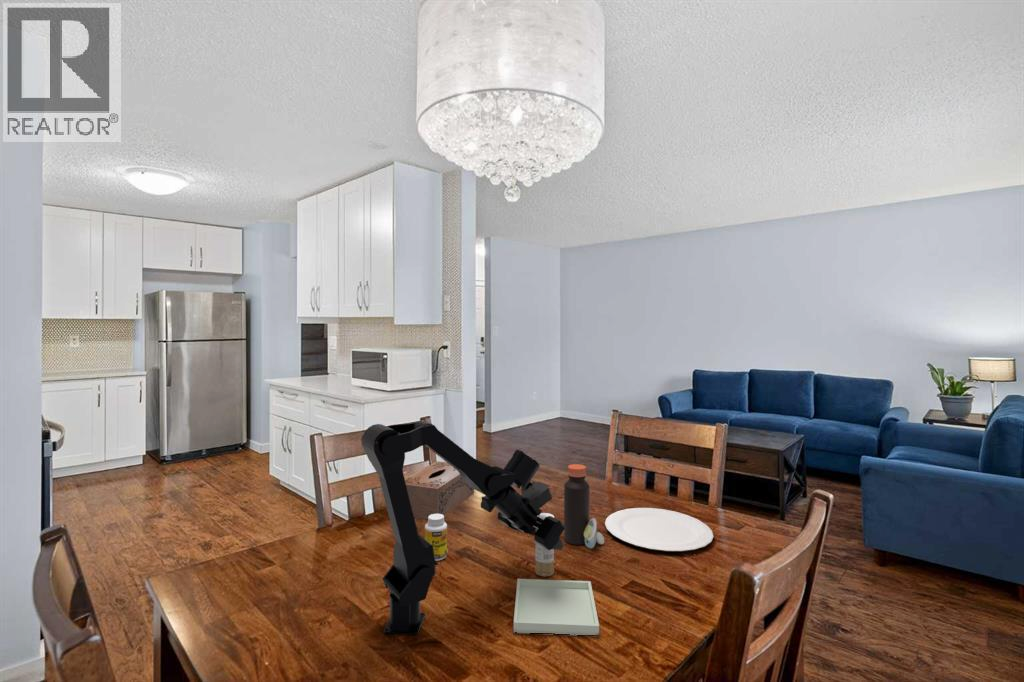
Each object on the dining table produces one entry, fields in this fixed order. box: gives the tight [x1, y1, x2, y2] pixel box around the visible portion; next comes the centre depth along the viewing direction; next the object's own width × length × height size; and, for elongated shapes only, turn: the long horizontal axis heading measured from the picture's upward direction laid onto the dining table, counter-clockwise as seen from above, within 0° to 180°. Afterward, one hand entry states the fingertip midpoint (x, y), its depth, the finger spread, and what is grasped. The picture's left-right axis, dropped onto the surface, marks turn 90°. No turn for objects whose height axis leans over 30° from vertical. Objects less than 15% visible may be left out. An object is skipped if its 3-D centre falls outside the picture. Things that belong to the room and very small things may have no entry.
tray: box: [513, 578, 600, 636], centre depth 100 cm, size 16×16×2 cm
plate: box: [604, 507, 715, 553], centre depth 138 cm, size 29×29×2 cm
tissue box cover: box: [404, 460, 475, 520], centre depth 159 cm, size 26×14×10 cm, turn 160°
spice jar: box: [534, 512, 555, 578], centre depth 115 cm, size 5×5×13 cm
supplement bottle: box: [424, 514, 448, 562], centre depth 122 cm, size 6×6×10 cm
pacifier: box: [584, 517, 605, 549], centre depth 129 cm, size 7×6×6 cm
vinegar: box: [563, 463, 590, 546], centre depth 132 cm, size 7×7×20 cm
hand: (548, 540), depth 116 cm, fingers open, 9 cm apart
